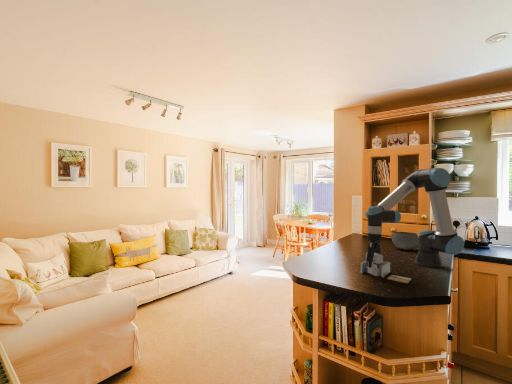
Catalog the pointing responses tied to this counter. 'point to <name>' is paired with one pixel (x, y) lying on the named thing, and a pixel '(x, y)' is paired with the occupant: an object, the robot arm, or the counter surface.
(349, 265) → the counter surface
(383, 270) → the cradle
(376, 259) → the ink box
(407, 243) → the bowl
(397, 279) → the pad
